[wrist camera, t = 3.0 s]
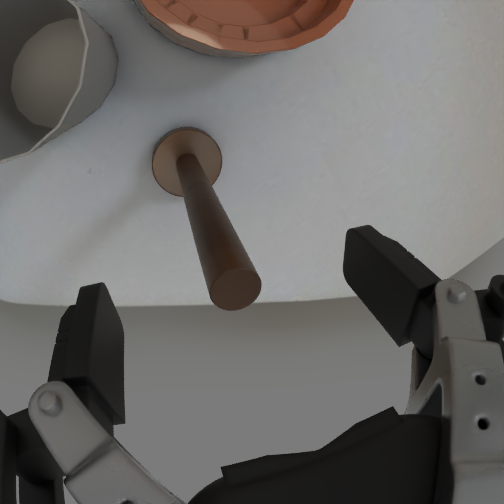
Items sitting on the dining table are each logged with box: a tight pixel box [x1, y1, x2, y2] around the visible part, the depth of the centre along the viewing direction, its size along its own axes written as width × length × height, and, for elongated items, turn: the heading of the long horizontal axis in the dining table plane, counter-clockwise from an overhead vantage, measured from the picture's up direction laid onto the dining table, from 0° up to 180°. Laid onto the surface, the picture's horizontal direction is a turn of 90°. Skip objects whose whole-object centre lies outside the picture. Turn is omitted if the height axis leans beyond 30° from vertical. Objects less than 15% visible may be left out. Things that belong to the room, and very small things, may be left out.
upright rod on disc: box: [152, 127, 261, 311], centre depth 16 cm, size 5×5×16 cm
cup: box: [0, 0, 118, 163], centre depth 12 cm, size 8×8×10 cm
